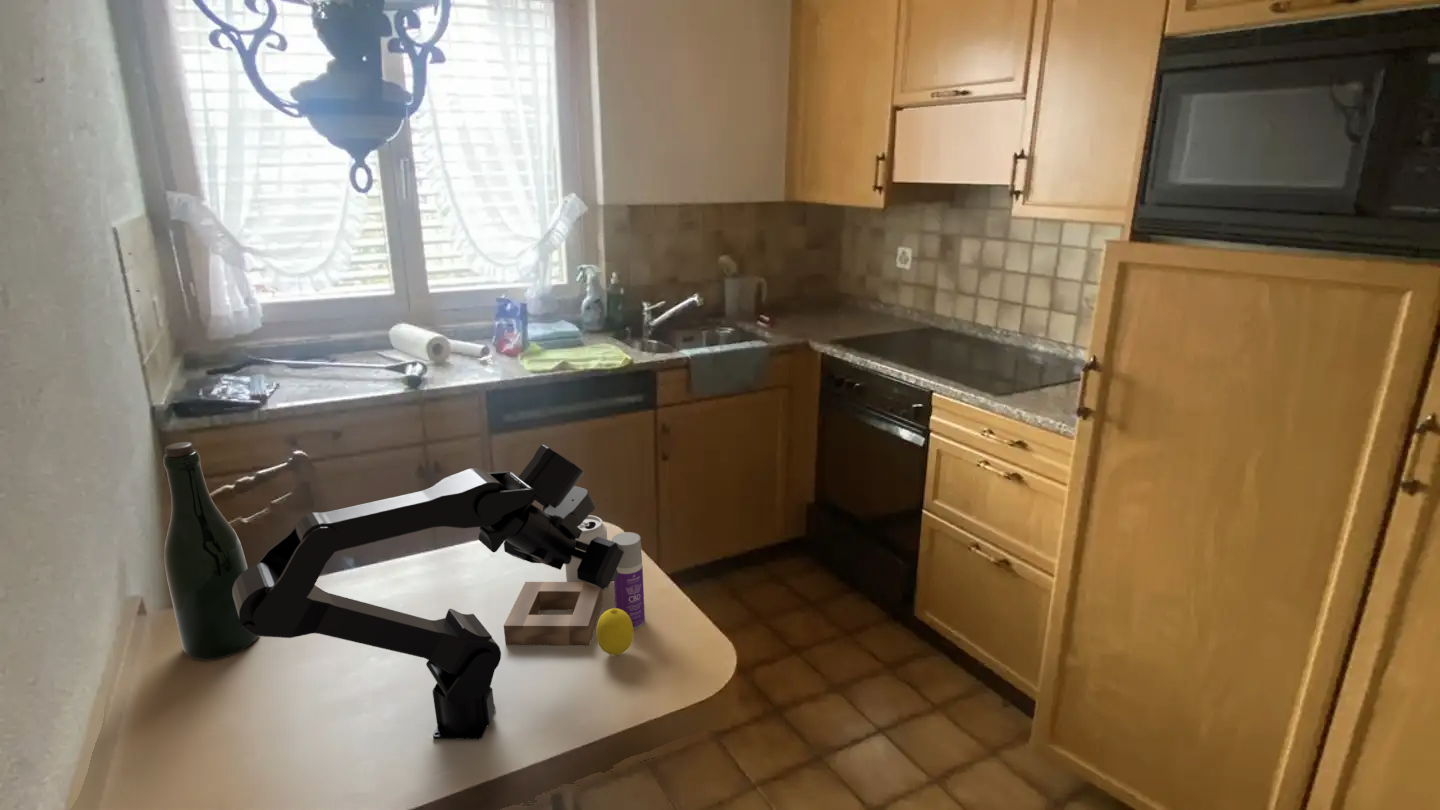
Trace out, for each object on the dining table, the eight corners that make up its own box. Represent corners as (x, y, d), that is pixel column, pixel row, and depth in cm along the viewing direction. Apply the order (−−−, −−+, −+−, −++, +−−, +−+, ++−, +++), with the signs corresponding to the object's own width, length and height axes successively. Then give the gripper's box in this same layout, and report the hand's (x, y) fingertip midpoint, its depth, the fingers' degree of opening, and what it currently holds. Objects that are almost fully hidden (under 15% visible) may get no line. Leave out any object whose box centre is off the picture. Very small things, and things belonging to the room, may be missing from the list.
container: (632, 633, 125) (628, 548, 120) (609, 624, 127) (604, 541, 122) (650, 619, 128) (647, 536, 124) (628, 611, 131) (623, 529, 126)
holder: (505, 645, 122) (503, 625, 121) (527, 599, 134) (525, 581, 133) (589, 645, 122) (588, 625, 120) (603, 600, 134) (601, 581, 133)
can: (606, 594, 136) (602, 531, 132) (563, 594, 136) (558, 531, 132) (612, 572, 143) (609, 512, 139) (571, 572, 143) (566, 512, 139)
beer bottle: (261, 650, 121) (217, 449, 111) (180, 670, 117) (127, 463, 107) (263, 616, 130) (223, 428, 120) (188, 634, 126) (140, 439, 116)
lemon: (628, 668, 116) (625, 621, 114) (592, 663, 117) (589, 617, 115) (639, 646, 121) (637, 600, 119) (605, 642, 122) (602, 597, 120)
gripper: (610, 491, 103) (664, 534, 115) (511, 463, 113) (570, 505, 125) (573, 570, 99) (632, 606, 111) (473, 534, 109) (538, 571, 121)
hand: (592, 568), depth 117 cm, fingers open, 9 cm apart
